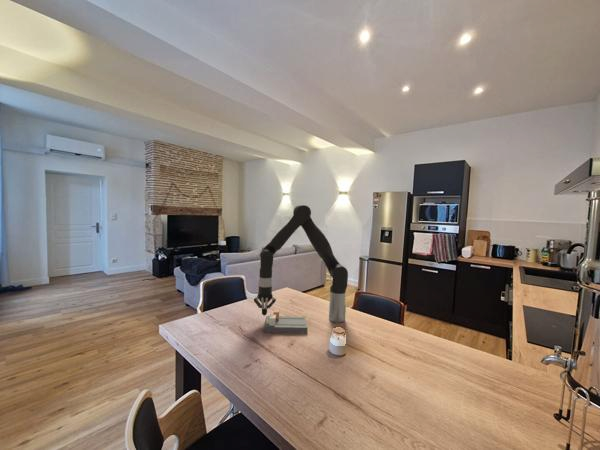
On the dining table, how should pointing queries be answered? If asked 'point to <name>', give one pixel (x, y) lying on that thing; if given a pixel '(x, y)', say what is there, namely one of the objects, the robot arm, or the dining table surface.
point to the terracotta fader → (276, 313)
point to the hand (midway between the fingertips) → (264, 314)
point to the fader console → (286, 325)
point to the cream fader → (272, 320)
